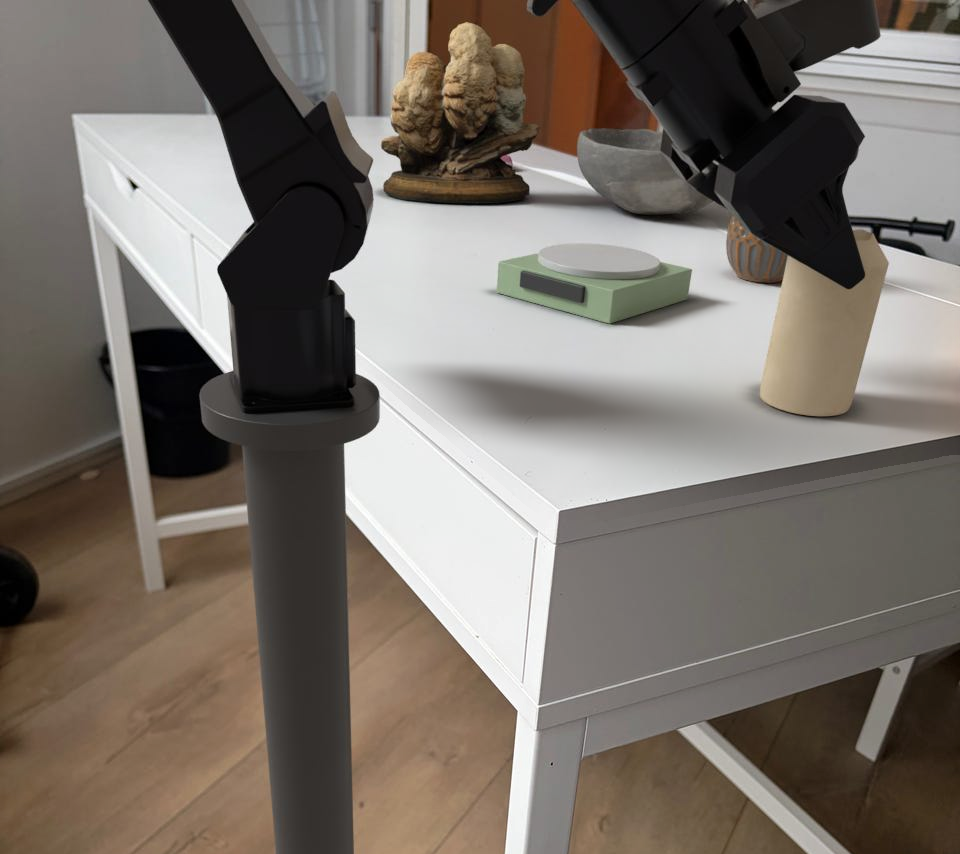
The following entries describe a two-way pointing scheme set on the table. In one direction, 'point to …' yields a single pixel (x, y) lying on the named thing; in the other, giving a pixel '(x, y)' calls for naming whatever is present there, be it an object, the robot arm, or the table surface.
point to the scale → (594, 280)
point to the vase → (753, 256)
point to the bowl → (635, 172)
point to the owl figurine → (460, 123)
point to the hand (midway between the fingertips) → (828, 262)
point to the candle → (822, 335)
